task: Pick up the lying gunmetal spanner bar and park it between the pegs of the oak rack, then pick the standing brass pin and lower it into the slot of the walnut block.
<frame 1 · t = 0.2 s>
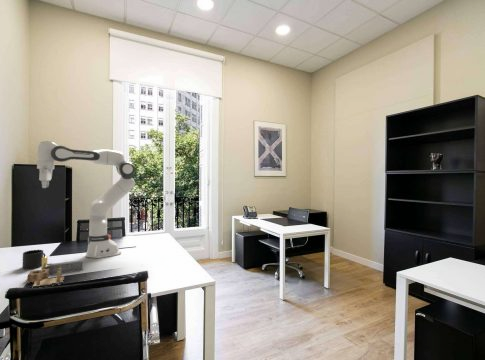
hand: (45, 187, 161), 47 cm above the table, fingers open, 8 cm apart
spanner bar: (64, 271, 144), on the table
slot block: (38, 279, 132), on the table
mug: (35, 266, 151), on the table
peg rack: (49, 283, 128), on the table
pin: (44, 270, 144), on the table
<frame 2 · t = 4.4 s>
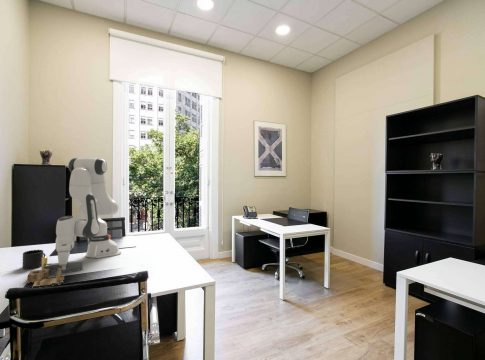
hand: (64, 268, 144), 2 cm above the table, fingers closed on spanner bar, 3 cm apart
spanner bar: (64, 271, 144), on the table, touching gripper
everything else where it was.
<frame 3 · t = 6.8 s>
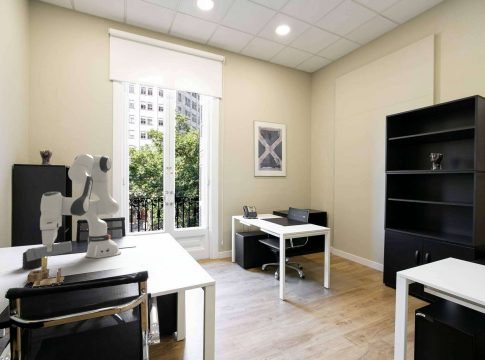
hand: (50, 250, 128), 17 cm above the table, fingers closed on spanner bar, 3 cm apart
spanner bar: (50, 255, 128), point 14 cm above the table, tilted 8°, touching gripper
everything else where it was.
when the fingers open (5 cm above the table, at t = 9.3 s): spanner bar stays where it is, resting on peg rack.
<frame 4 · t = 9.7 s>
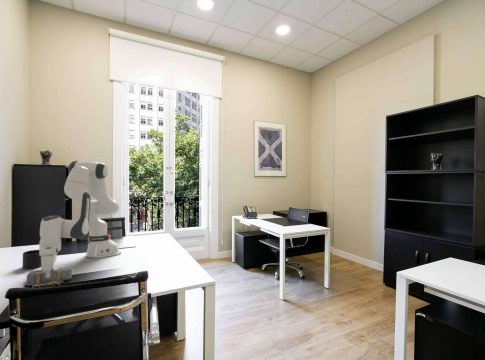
hand: (49, 274, 128), 5 cm above the table, fingers open, 7 cm apart
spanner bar: (50, 280, 128), point 1 cm above the table, touching peg rack
everything else where it was.
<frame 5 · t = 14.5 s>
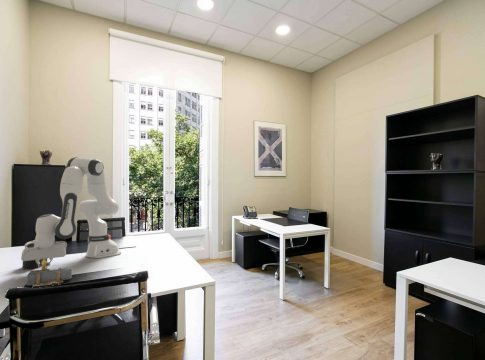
hand: (44, 266, 144), 3 cm above the table, fingers closed on pin, 3 cm apart
pin: (44, 270, 144), on the table, touching gripper
everything else where it was.
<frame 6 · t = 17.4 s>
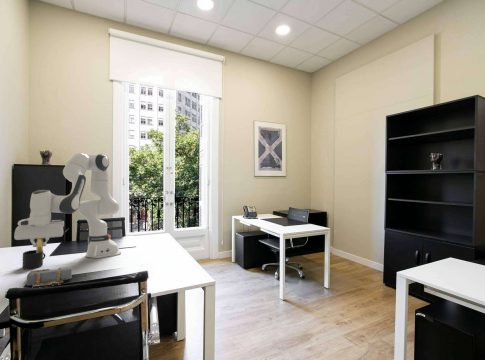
hand: (39, 246, 132), 18 cm above the table, fingers closed on pin, 3 cm apart
pin: (39, 252, 132), point 15 cm above the table, touching gripper
everything else where it was.
when the fingers open (5 cm above the table, at t = 20.3 s): pin drops 2 cm, resting in slot block.
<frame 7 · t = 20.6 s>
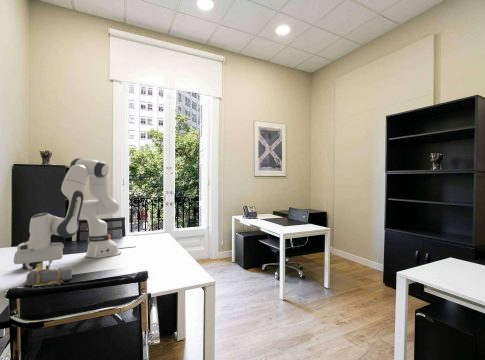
hand: (39, 269, 132), 5 cm above the table, fingers open, 6 cm apart
pin: (38, 279, 132), resting in slot block
everything else where it was.
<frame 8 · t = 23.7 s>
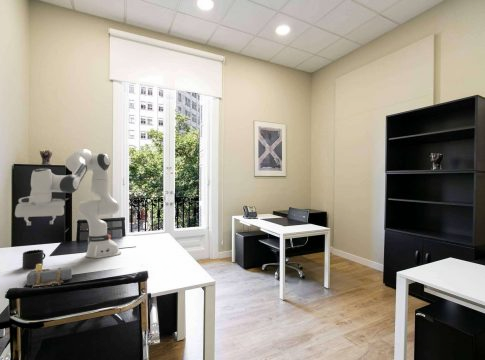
hand: (40, 224, 132), 29 cm above the table, fingers open, 8 cm apart
nothing on the table moved.
at the end: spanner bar 0.5 cm off-centre on the peg rack, point 1.2 cm above the peg rack's base; pin 0.1 cm off-centre on the slot block, point 0.0 cm above the slot block's base; the gripper is holding nothing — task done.
